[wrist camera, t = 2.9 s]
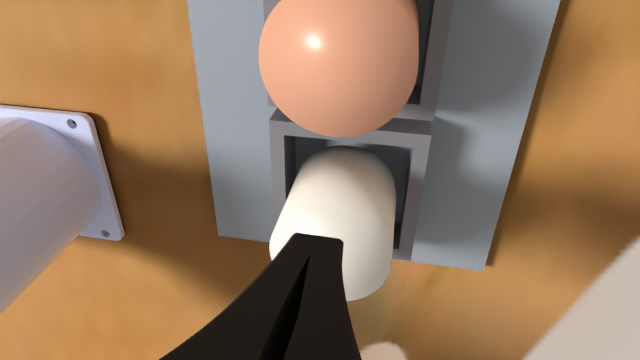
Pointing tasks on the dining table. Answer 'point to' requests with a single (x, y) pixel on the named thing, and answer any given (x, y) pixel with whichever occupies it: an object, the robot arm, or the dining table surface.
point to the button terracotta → (340, 62)
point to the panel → (393, 137)
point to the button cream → (345, 213)
